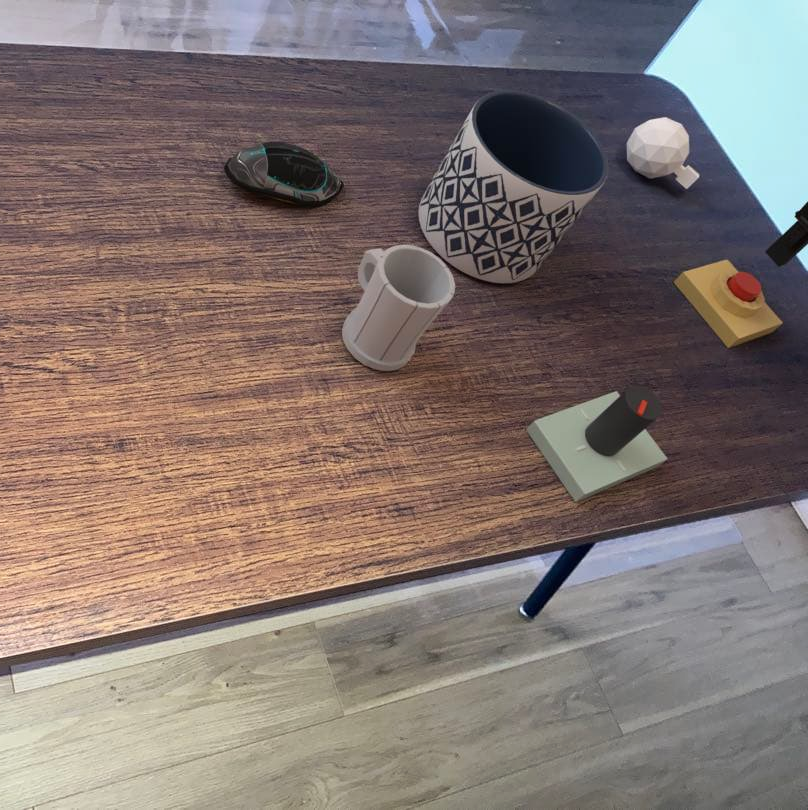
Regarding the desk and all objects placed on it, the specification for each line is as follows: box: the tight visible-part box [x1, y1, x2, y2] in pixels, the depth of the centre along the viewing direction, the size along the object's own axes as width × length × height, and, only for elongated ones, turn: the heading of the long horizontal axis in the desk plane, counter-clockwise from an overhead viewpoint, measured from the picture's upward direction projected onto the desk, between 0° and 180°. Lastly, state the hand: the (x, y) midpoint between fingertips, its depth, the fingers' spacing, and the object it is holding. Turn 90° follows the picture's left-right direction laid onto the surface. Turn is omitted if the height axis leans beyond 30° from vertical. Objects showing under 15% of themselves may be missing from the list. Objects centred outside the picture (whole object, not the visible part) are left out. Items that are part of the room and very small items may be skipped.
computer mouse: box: [223, 141, 345, 209], centre depth 114 cm, size 9×17×6 cm, turn 103°
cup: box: [341, 244, 456, 372], centre depth 101 cm, size 10×9×12 cm
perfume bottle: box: [626, 116, 700, 190], centre depth 138 cm, size 9×9×12 cm
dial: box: [585, 385, 663, 456], centre depth 101 cm, size 4×4×8 cm
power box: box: [673, 259, 784, 349], centre depth 126 cm, size 12×10×4 cm
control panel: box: [525, 390, 668, 503], centre depth 105 cm, size 14×10×2 cm
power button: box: [727, 271, 763, 302], centre depth 124 cm, size 4×4×2 cm
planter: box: [417, 89, 609, 284], centre depth 115 cm, size 18×18×16 cm
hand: (775, 258), depth 120 cm, fingers closed
